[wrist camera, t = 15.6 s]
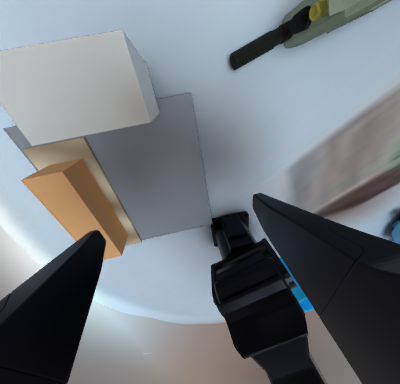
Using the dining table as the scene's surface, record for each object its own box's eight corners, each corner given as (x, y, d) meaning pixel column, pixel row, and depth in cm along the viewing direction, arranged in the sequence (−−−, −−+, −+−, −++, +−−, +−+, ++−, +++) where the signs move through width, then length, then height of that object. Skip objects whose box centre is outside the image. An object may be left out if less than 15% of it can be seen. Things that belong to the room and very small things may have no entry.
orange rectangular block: (128, 234, 23) (121, 255, 20) (104, 240, 23) (94, 261, 20) (82, 158, 16) (62, 171, 13) (48, 165, 16) (21, 180, 13)
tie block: (159, 113, 15) (150, 122, 9) (89, 126, 15) (32, 146, 9) (145, 62, 13) (122, 29, 7) (64, 77, 13) (-36, 56, 7)
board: (211, 219, 25) (212, 223, 25) (103, 244, 25) (100, 249, 24) (190, 92, 16) (191, 92, 15) (12, 127, 15) (3, 128, 14)
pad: (141, 240, 24) (141, 242, 24) (103, 248, 24) (102, 251, 24) (85, 136, 16) (83, 137, 15) (25, 148, 15) (21, 149, 15)
